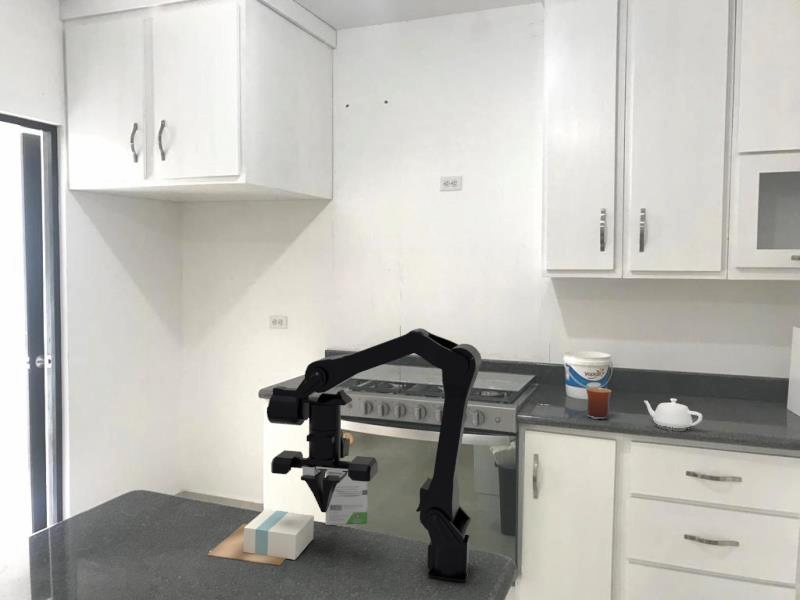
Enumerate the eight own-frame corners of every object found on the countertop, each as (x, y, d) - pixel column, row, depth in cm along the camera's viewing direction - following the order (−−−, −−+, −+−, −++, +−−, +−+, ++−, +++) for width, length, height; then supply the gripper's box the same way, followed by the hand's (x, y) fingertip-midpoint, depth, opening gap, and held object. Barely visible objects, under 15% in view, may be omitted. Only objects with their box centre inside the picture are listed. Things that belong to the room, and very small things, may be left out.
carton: (314, 515, 120) (265, 508, 123) (295, 534, 111) (243, 527, 114) (313, 538, 121) (265, 531, 123) (294, 560, 112) (243, 552, 114)
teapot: (634, 424, 218) (635, 395, 217) (649, 419, 226) (651, 391, 226) (693, 437, 203) (695, 406, 203) (708, 431, 212) (709, 401, 211)
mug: (614, 421, 222) (615, 392, 222) (590, 421, 222) (592, 392, 221) (600, 413, 234) (601, 385, 234) (577, 413, 233) (578, 385, 233)
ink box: (366, 515, 133) (367, 460, 132) (367, 525, 128) (368, 468, 127) (325, 515, 132) (326, 460, 131) (324, 525, 127) (325, 468, 127)
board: (309, 533, 123) (309, 532, 123) (279, 565, 110) (279, 564, 110) (243, 524, 126) (243, 523, 126) (207, 555, 113) (207, 554, 113)
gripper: (385, 420, 120) (384, 500, 121) (294, 414, 124) (293, 491, 125) (369, 435, 109) (368, 523, 110) (269, 427, 113) (269, 512, 114)
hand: (324, 511), depth 115 cm, fingers closed
